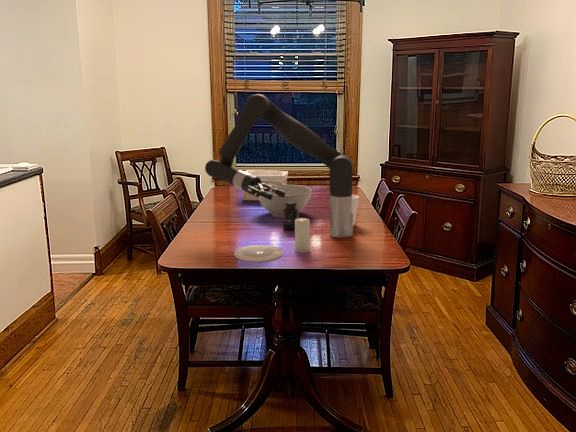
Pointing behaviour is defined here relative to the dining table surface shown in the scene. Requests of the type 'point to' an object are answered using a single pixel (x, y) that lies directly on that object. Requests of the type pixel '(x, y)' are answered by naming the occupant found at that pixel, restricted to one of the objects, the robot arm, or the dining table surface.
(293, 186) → the decorative bowl
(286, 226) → the supplement bottle
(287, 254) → the dining table surface
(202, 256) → the dining table surface
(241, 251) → the dish
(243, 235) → the dining table surface
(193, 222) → the dining table surface
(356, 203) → the foam cup
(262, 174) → the storage basket
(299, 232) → the white tapered cylinder
